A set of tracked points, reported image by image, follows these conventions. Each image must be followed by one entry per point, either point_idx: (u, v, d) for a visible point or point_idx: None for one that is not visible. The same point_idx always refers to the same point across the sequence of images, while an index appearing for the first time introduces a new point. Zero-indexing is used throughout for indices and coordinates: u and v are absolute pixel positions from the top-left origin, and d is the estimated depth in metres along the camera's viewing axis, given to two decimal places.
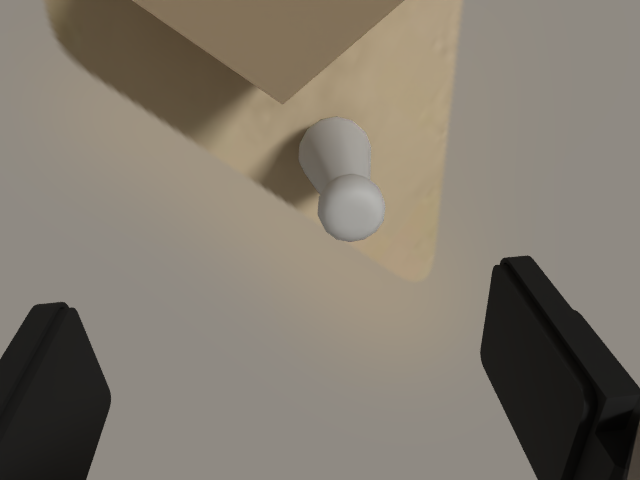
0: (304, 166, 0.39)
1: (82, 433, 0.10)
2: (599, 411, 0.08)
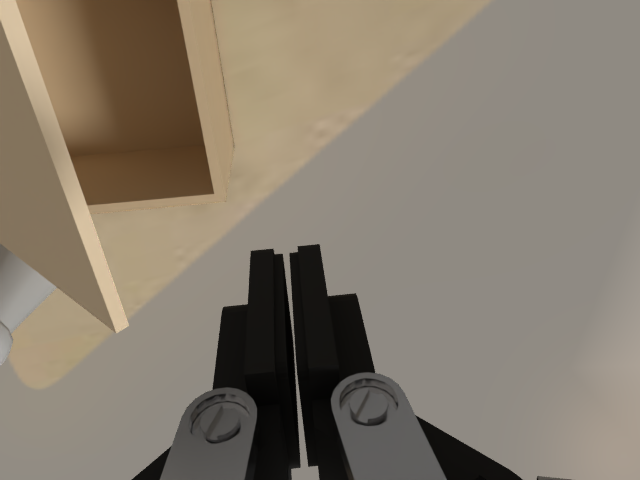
0: None
1: (293, 366, 0.12)
2: (309, 380, 0.09)
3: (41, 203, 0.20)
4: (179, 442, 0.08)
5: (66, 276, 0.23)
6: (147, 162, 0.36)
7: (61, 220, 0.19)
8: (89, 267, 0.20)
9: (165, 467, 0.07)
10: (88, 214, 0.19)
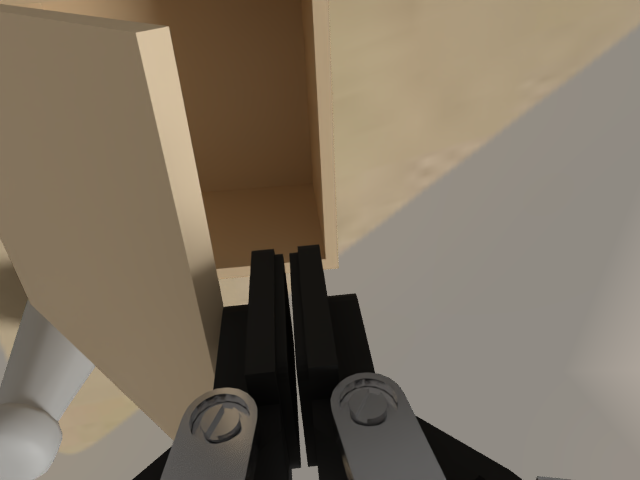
0: (23, 320, 0.30)
1: (293, 365, 0.12)
2: (309, 380, 0.09)
3: (147, 327, 0.13)
4: (179, 442, 0.08)
5: (166, 412, 0.16)
6: (225, 209, 0.29)
7: (184, 361, 0.13)
8: None
9: (165, 467, 0.07)
10: None
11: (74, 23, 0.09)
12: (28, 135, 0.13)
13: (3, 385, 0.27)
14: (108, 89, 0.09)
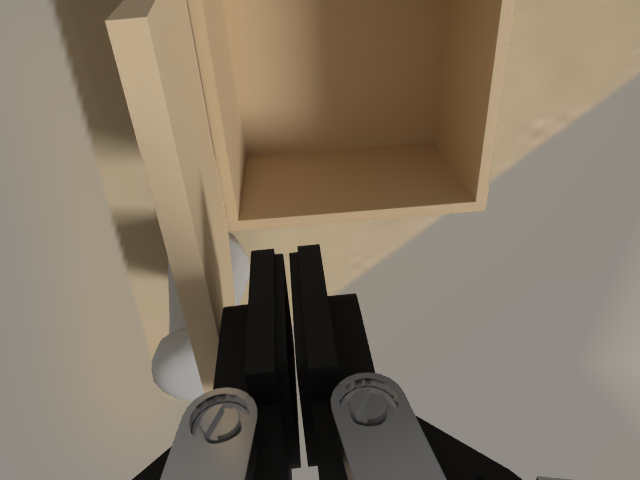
0: None
1: (293, 366, 0.12)
2: (309, 380, 0.09)
3: None
4: (179, 442, 0.08)
5: None
6: (363, 163, 0.32)
7: None
8: None
9: (165, 467, 0.07)
10: None
11: (123, 2, 0.09)
12: None
13: (175, 316, 0.30)
14: None
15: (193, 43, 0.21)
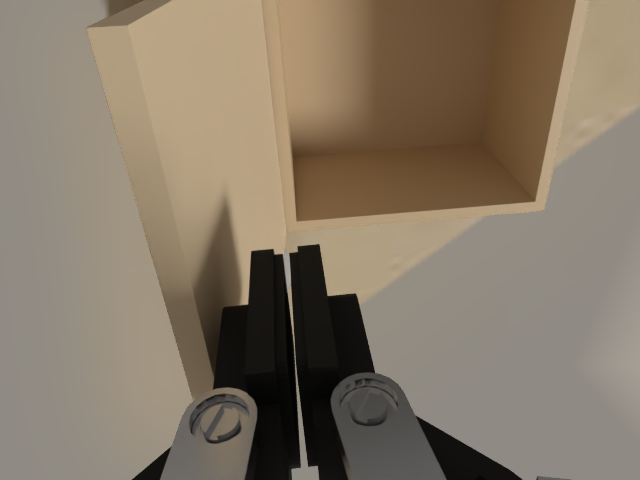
0: None
1: (293, 366, 0.12)
2: (309, 380, 0.09)
3: None
4: (179, 442, 0.08)
5: None
6: (413, 163, 0.32)
7: None
8: None
9: (165, 467, 0.07)
10: None
11: (134, 5, 0.09)
12: None
13: None
14: None
15: (263, 42, 0.21)
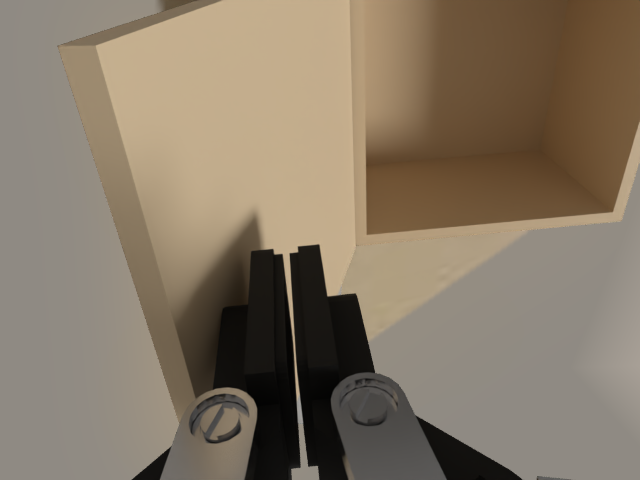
0: None
1: (293, 366, 0.12)
2: (309, 380, 0.09)
3: None
4: (179, 442, 0.08)
5: None
6: (473, 172, 0.31)
7: None
8: None
9: (165, 467, 0.07)
10: None
11: (142, 18, 0.08)
12: None
13: None
14: None
15: (347, 49, 0.20)
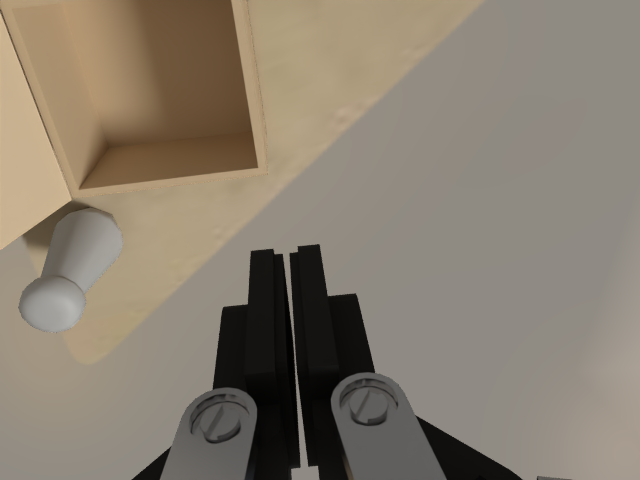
0: (54, 235, 0.42)
1: (293, 366, 0.12)
2: (310, 380, 0.09)
3: None
4: (179, 442, 0.08)
5: None
6: (194, 147, 0.41)
7: None
8: None
9: (165, 467, 0.07)
10: None
11: None
12: None
13: (44, 270, 0.39)
14: None
15: (8, 58, 0.30)
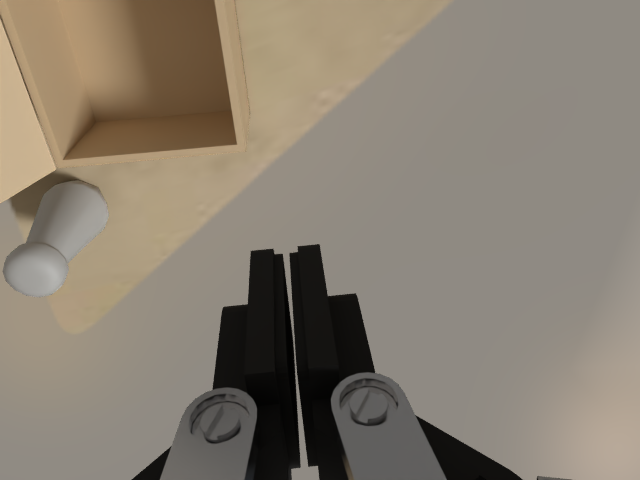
0: (41, 204, 0.44)
1: (293, 365, 0.12)
2: (309, 380, 0.09)
3: None
4: (179, 442, 0.08)
5: None
6: (178, 123, 0.42)
7: None
8: None
9: (165, 467, 0.07)
10: None
11: None
12: None
13: (29, 237, 0.40)
14: None
15: None
